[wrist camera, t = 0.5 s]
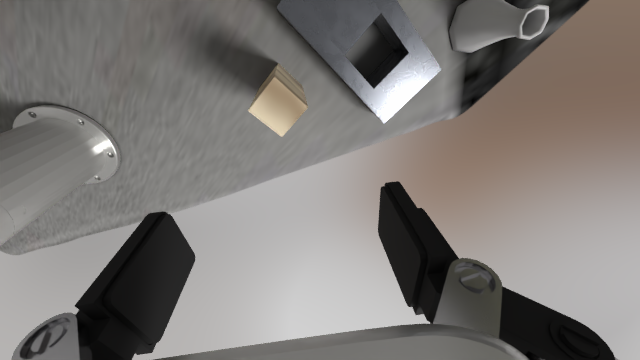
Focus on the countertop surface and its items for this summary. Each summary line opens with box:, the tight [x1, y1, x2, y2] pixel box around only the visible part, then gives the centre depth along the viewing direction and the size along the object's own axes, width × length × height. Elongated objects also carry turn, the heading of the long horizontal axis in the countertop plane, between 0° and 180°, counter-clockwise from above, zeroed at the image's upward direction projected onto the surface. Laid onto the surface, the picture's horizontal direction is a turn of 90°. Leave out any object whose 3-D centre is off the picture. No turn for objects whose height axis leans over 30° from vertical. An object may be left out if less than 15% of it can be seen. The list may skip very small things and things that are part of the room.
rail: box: [277, 0, 441, 123], centre depth 30 cm, size 10×20×5 cm, turn 46°
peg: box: [248, 63, 308, 137], centre depth 30 cm, size 4×4×12 cm
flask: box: [449, 0, 549, 53], centre depth 29 cm, size 7×7×10 cm
